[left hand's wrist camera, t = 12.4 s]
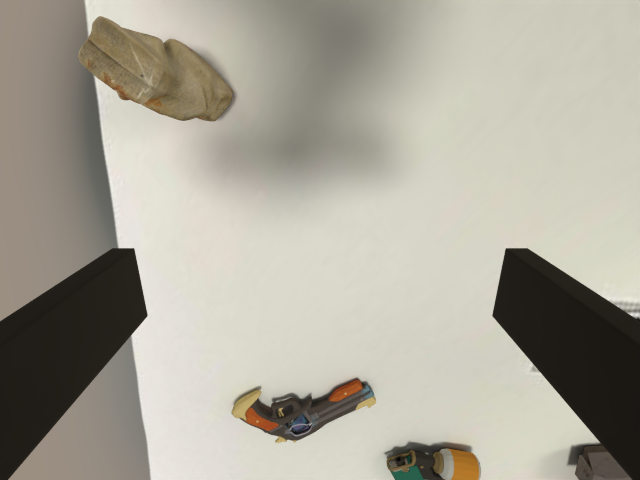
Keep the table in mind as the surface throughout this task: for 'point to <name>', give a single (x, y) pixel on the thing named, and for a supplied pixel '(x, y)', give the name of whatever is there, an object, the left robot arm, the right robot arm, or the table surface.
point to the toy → (599, 465)
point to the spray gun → (435, 466)
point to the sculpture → (154, 72)
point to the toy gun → (302, 411)
